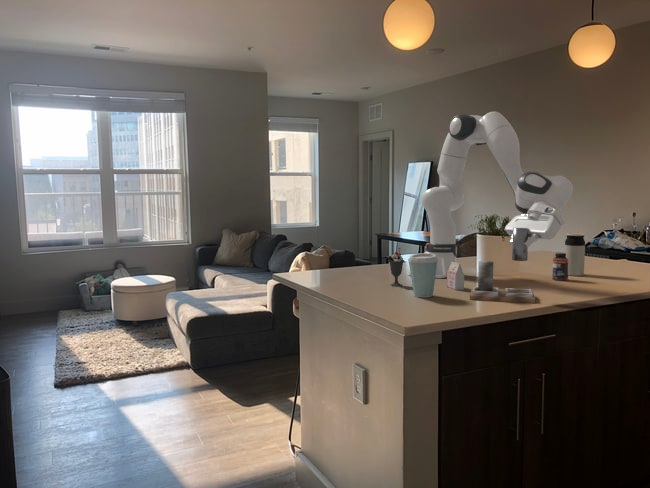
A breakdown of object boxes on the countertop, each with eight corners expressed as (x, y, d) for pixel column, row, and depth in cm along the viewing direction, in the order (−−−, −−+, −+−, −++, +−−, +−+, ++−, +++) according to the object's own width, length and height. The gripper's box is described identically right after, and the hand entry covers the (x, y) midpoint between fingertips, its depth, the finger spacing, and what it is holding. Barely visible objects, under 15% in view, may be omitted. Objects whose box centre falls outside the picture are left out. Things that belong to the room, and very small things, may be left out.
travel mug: (575, 276, 224) (577, 235, 222) (559, 274, 231) (561, 233, 229) (587, 275, 228) (589, 234, 226) (571, 272, 235) (573, 232, 233)
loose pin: (512, 260, 179) (512, 228, 178) (511, 258, 184) (512, 227, 182) (527, 261, 177) (528, 228, 176) (527, 259, 182) (527, 227, 181)
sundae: (406, 284, 212) (406, 247, 210) (402, 287, 205) (403, 249, 204) (389, 283, 214) (390, 247, 212) (386, 286, 207) (386, 248, 206)
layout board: (469, 299, 181) (470, 263, 180) (471, 293, 193) (472, 259, 191) (534, 303, 175) (536, 266, 173) (532, 296, 186) (533, 261, 185)
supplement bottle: (564, 278, 220) (565, 252, 219) (570, 281, 214) (571, 253, 213) (550, 278, 221) (551, 251, 220) (554, 281, 215) (555, 253, 214)
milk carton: (455, 286, 206) (455, 261, 205) (463, 289, 199) (464, 263, 198) (446, 287, 205) (447, 261, 204) (455, 290, 198) (455, 264, 197)
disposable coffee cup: (431, 300, 181) (432, 257, 179) (402, 297, 187) (403, 255, 185) (442, 294, 190) (442, 253, 188) (414, 291, 196) (414, 252, 194)
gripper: (514, 208, 191) (492, 236, 188) (559, 209, 172) (536, 240, 169) (523, 219, 193) (502, 247, 190) (569, 222, 174) (546, 253, 171)
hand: (518, 244), depth 180 cm, fingers closed on loose pin, 5 cm apart
